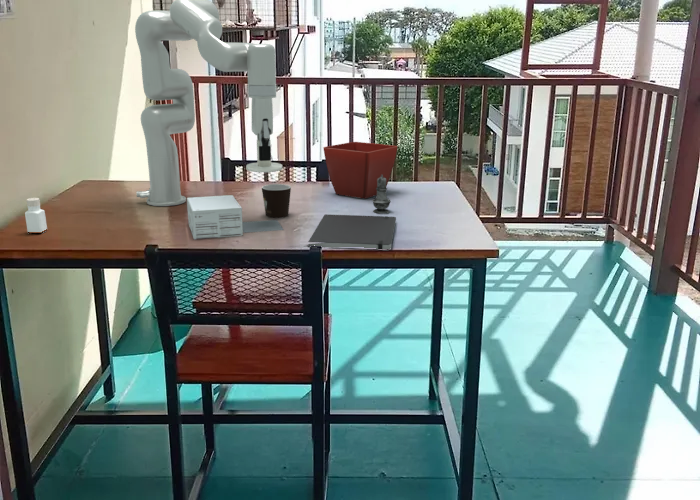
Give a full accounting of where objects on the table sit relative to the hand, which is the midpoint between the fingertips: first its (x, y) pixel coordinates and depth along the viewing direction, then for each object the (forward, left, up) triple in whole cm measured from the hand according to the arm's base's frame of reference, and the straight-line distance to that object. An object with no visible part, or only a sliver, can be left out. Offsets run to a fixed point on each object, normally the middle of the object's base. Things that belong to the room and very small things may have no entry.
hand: (264, 158), depth 180 cm
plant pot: (+39, +34, -20) cm, 56 cm away
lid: (0, 0, -3) cm, 3 cm away
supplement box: (-15, -4, -20) cm, 25 cm away
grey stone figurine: (+38, +8, -20) cm, 44 cm away
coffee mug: (+5, +8, -20) cm, 22 cm away
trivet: (-2, -4, -20) cm, 20 cm away
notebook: (+23, -14, -21) cm, 34 cm away
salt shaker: (-62, +10, -20) cm, 66 cm away
